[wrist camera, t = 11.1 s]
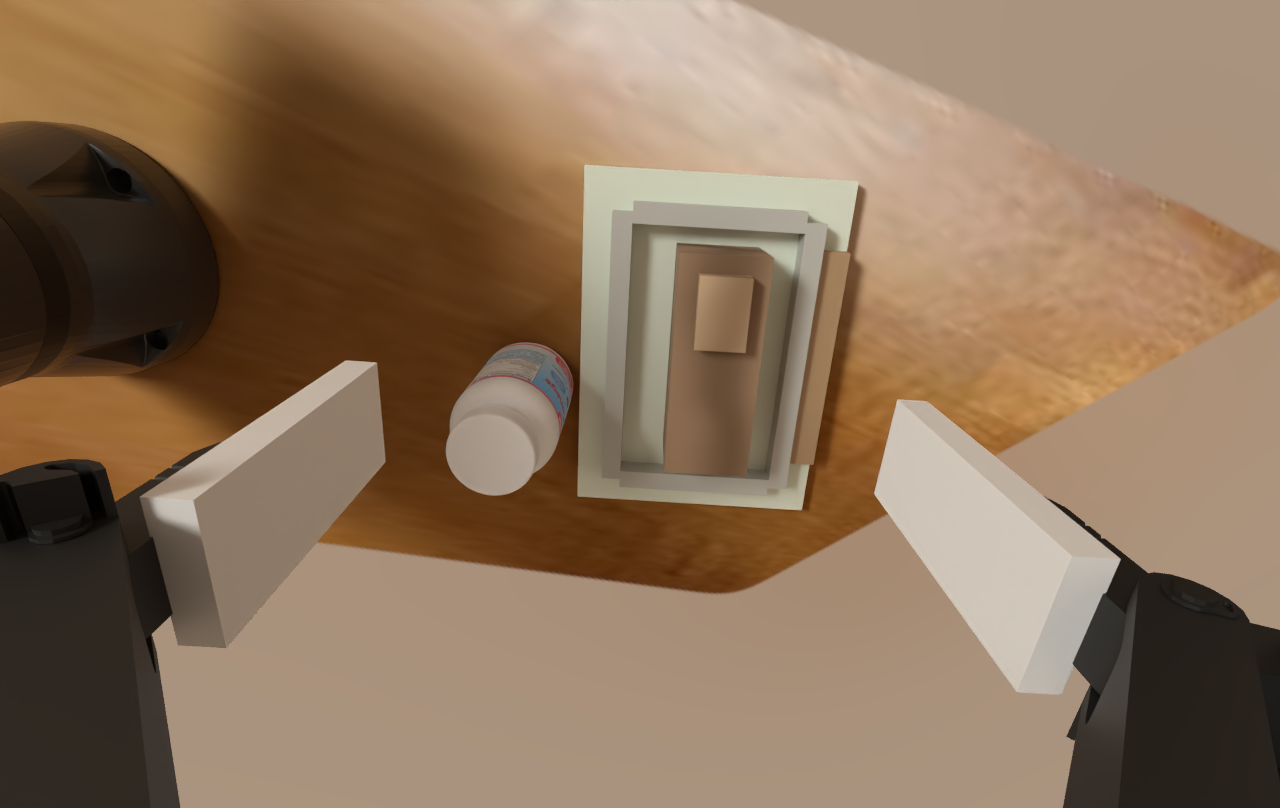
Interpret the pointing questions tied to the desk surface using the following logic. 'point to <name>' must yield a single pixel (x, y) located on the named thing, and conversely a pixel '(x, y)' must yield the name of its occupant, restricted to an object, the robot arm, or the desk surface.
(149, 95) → the desk surface
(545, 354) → the pill bottle
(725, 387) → the brown block
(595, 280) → the tray
